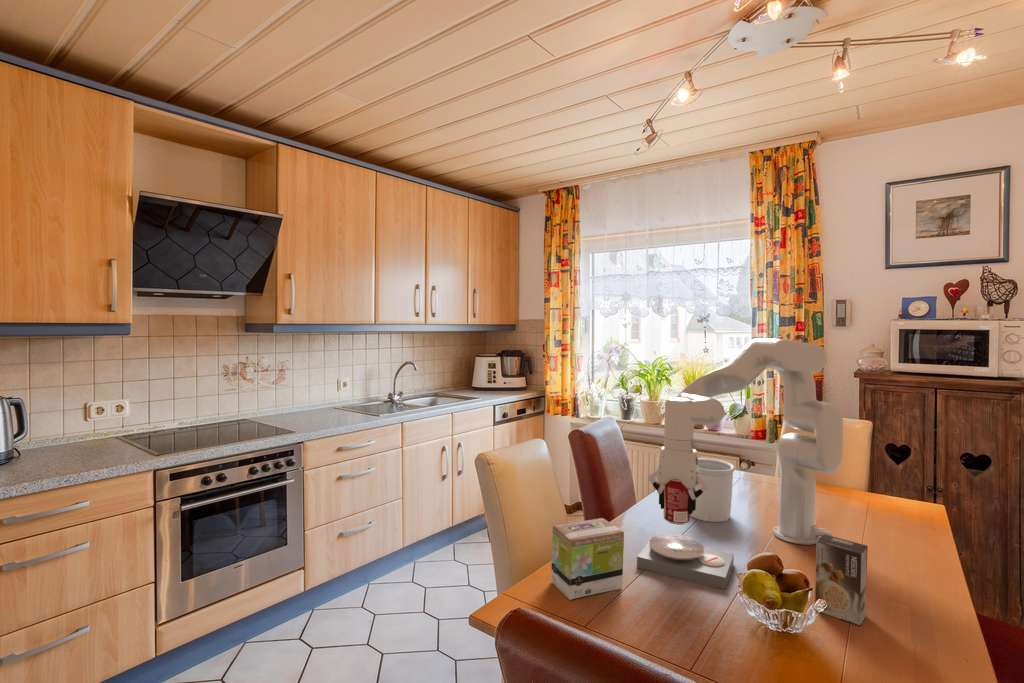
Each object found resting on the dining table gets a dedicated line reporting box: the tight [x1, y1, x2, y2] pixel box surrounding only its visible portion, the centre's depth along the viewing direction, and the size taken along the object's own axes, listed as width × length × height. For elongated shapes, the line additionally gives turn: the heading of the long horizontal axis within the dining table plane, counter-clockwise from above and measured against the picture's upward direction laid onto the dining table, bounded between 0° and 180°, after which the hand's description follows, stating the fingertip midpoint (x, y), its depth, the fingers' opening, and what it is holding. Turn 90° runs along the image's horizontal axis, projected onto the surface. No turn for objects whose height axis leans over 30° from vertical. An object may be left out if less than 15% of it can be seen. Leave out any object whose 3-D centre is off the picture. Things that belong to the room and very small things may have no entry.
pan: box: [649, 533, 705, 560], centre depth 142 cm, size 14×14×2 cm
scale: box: [636, 536, 735, 590], centre depth 141 cm, size 22×15×4 cm
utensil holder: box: [690, 457, 735, 523], centre depth 177 cm, size 15×15×18 cm
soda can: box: [663, 479, 691, 526], centre depth 141 cm, size 7×7×12 cm
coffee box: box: [814, 534, 868, 626], centre depth 119 cm, size 9×6×16 cm
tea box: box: [550, 517, 625, 601], centre depth 130 cm, size 15×10×15 cm
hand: (676, 509), depth 142 cm, fingers closed on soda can, 6 cm apart
